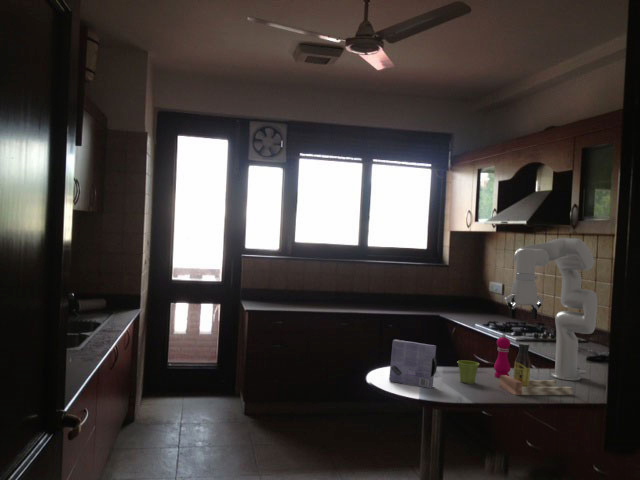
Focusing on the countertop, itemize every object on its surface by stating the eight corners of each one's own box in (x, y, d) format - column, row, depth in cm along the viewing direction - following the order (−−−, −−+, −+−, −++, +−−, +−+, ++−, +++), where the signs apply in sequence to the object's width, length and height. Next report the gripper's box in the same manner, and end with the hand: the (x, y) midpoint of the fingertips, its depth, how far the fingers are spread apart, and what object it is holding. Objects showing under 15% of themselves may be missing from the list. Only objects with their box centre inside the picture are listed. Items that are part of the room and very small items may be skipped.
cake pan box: (436, 386, 233) (438, 344, 233) (433, 389, 228) (435, 346, 229) (392, 379, 241) (394, 338, 242) (388, 381, 237) (390, 340, 237)
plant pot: (452, 379, 247) (453, 360, 248) (471, 379, 250) (472, 360, 250) (462, 385, 238) (463, 364, 238) (482, 385, 240) (483, 364, 241)
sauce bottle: (509, 389, 236) (511, 342, 236) (521, 388, 238) (523, 341, 238) (520, 393, 229) (522, 344, 230) (532, 392, 232) (534, 344, 232)
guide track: (554, 387, 243) (554, 375, 243) (572, 394, 231) (572, 382, 231) (499, 386, 238) (500, 375, 238) (514, 394, 226) (515, 382, 226)
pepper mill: (497, 374, 263) (499, 332, 263) (512, 377, 258) (514, 334, 259) (491, 376, 257) (493, 333, 258) (506, 379, 253) (508, 335, 253)
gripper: (538, 278, 239) (536, 318, 239) (501, 276, 236) (499, 316, 236) (549, 279, 232) (547, 320, 232) (511, 277, 229) (509, 319, 229)
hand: (523, 318), depth 234 cm, fingers open, 9 cm apart
